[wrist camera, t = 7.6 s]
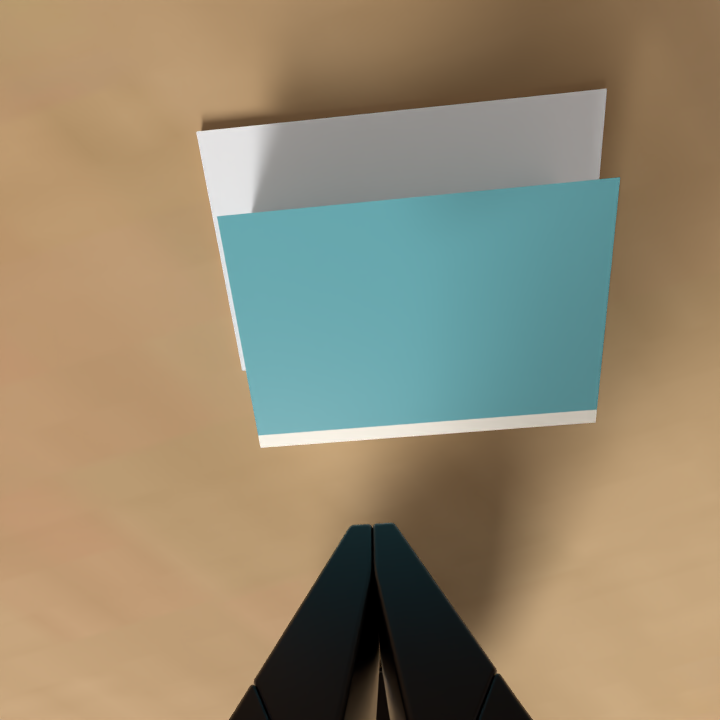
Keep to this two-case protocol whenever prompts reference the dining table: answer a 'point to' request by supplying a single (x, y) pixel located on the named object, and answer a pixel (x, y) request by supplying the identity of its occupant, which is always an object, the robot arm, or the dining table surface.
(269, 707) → the robot arm
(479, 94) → the dining table surface
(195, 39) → the dining table surface
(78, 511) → the dining table surface
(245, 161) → the mat
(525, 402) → the teal block
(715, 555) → the dining table surface
